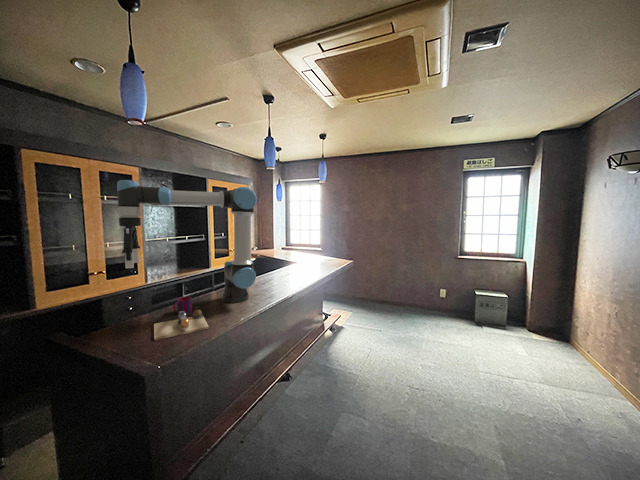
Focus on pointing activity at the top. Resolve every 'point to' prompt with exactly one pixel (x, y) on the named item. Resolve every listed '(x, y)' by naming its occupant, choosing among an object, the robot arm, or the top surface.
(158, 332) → the press base
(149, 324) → the top surface
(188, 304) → the mug
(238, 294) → the robot arm
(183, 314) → the lever
